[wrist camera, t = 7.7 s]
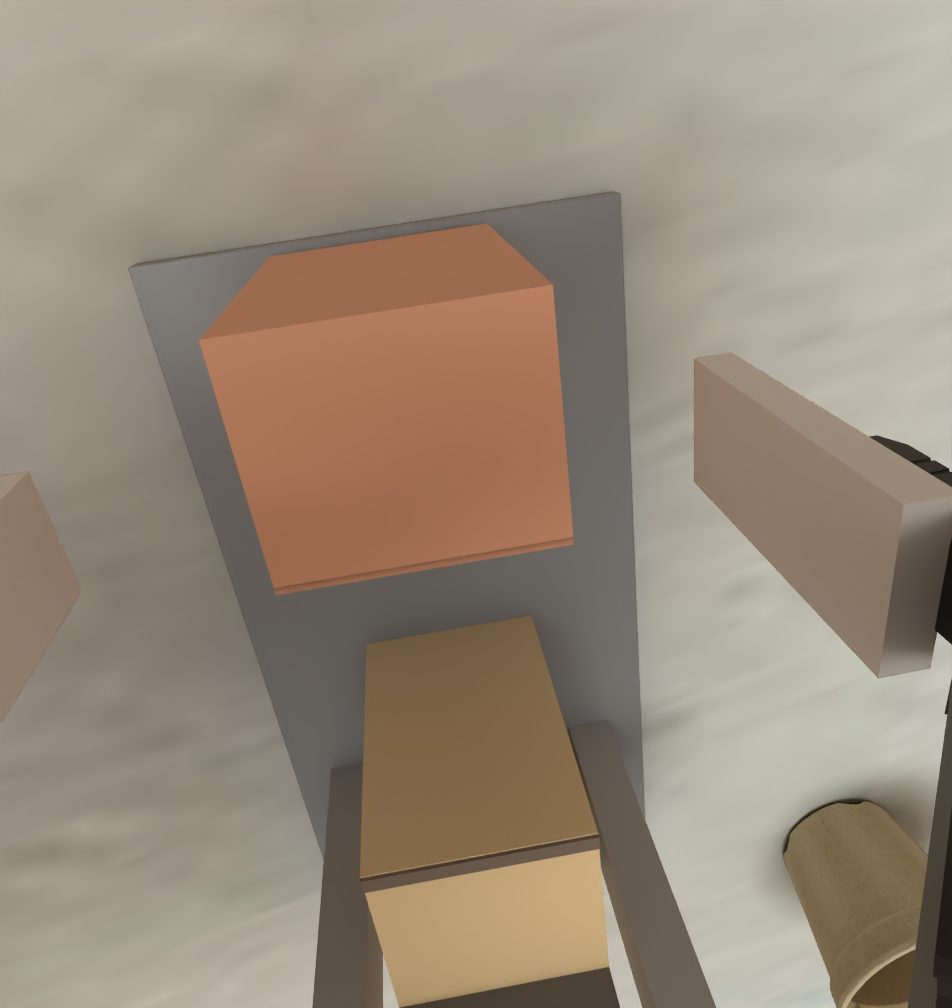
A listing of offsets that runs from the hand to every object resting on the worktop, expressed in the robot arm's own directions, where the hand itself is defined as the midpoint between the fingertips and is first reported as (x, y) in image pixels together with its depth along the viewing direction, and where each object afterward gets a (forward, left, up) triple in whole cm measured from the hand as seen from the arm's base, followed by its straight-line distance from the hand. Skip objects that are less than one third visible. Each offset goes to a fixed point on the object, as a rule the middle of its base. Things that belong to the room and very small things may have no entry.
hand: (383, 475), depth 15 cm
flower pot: (+19, -32, -13) cm, 40 cm away
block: (0, 0, -12) cm, 12 cm away
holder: (0, -13, -13) cm, 18 cm away
